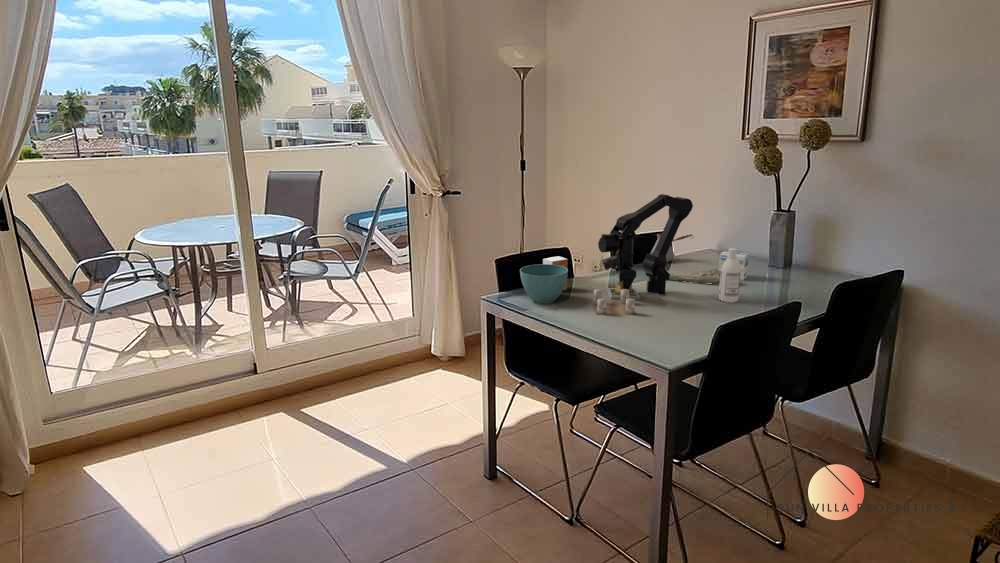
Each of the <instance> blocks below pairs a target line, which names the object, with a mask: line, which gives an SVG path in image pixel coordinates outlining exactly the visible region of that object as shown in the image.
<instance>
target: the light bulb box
mask: <svg viewBox="0 0 1000 563" xmlns="http://www.w3.org/2000/svg"><path fill="white" fill-rule="evenodd" d="M727 258H728V251H722V252H721V253H720V254H719V262H718V263H719V264H718V266H719V267H718V271H721V268H722V265H723V263H724V262H725V261H726V260H727ZM736 259H737V261H738V263H739V265H740V268H741V274H740V279H745V278H746V277H747V278H748V268H749V267H748V266H749V253H745V252H737V254H736ZM747 278H746V279H747ZM746 279H745V280H746Z"/></svg>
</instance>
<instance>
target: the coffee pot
mask: <svg viewBox="0 0 1000 563" xmlns="http://www.w3.org/2000/svg"><path fill="white" fill-rule="evenodd" d="M661 234H662V233H657V234H656V236H657V238H656V239H657V240H656V241H655V243H654V246H653V247H652V249H651V251H650V253H649V254H651V253H652V252H653V251H654V250H655V248H656V245H657V243H658V241H659V239H660V236H661ZM689 237H690V239H691V240H693V239H694V235H693V234H686V235H683V236H680V237H676V238H675V239H673V241H672V243H673V242H676V241H679V240H684V239H686V238H687V239H688V238H689ZM674 258H675V253H674V250H673V247H672V245H671V246H670V248H669V250H668V252H667V254H666V262H667V263H670V262H671V261H672V260H673V259H674ZM669 261H670V262H669Z"/></svg>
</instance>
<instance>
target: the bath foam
mask: <svg viewBox="0 0 1000 563" xmlns="http://www.w3.org/2000/svg"><path fill="white" fill-rule="evenodd" d="M727 250H728V251H727V252H728V258H727V260H726V261H725V262H724V263H723V265H722V268H721V276H720V285H719V289H718V300H719V301H720V300H721V301H720V302H723V301H724V302H723V303H728V302H733V303H737V302H738V300H739V294H740V282H741V280H740V274H741V268H740V265H739V263H738V261H737V259H736V254H737V253H738V252H737V251H738V249H737V248H735V247H731V248H728V249H727Z"/></svg>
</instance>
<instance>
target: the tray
mask: <svg viewBox="0 0 1000 563" xmlns="http://www.w3.org/2000/svg"><path fill="white" fill-rule="evenodd" d="M606 292H607V294H608V296H609V298H610V300H612V301H618V300H619V301H621V296H615V295H613V294H615V288H607V290H606ZM632 294H634V295H631V296H629V298H631V299H635V301H637V300H638V301H639V300H641V295H640V294H639V292H638V291H637V289H636V288H633V287H632Z"/></svg>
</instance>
